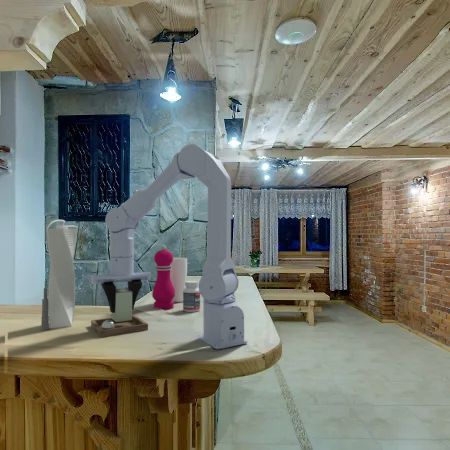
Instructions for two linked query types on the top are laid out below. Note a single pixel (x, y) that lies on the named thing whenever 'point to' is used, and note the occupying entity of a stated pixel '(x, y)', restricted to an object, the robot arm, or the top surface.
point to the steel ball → (108, 325)
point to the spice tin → (122, 305)
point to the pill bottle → (191, 297)
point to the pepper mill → (163, 280)
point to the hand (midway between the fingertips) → (121, 310)
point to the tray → (119, 326)
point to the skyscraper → (60, 278)
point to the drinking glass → (178, 277)
